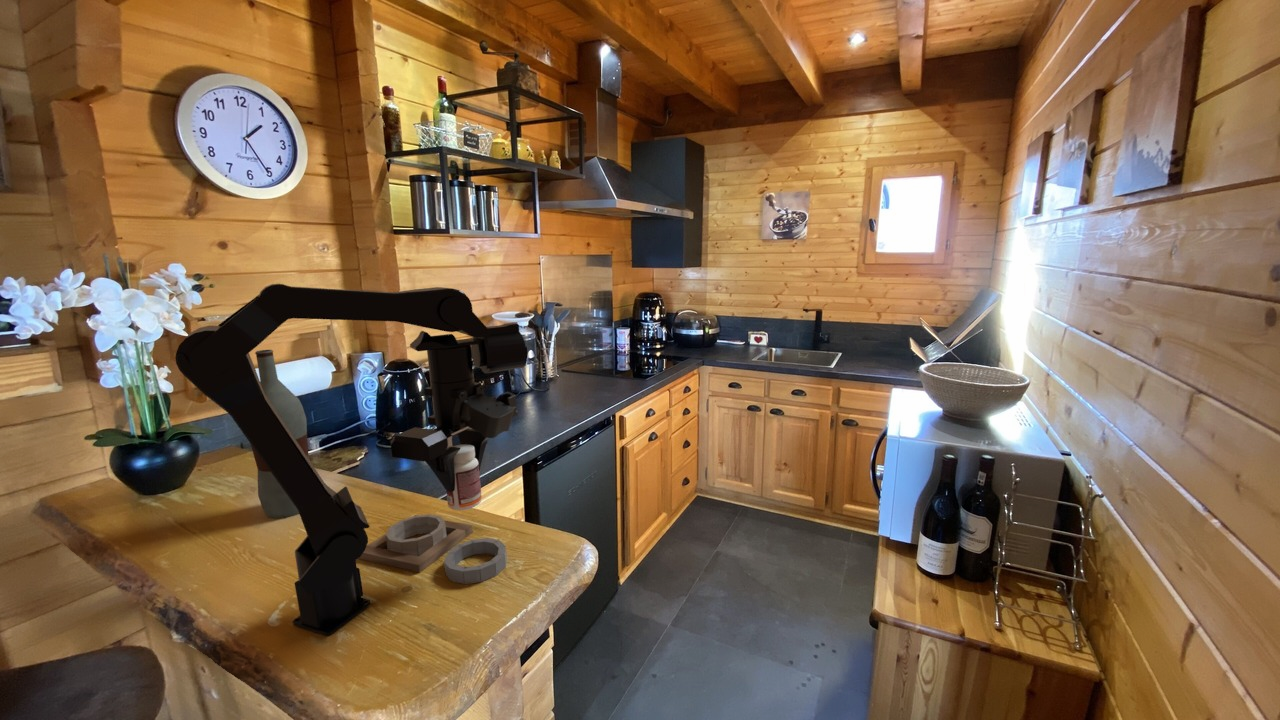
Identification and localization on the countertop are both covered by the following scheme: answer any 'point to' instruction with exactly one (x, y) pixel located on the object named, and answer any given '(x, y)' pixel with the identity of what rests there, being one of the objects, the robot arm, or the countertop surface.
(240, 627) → the countertop surface
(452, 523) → the socket board
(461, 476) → the pill bottle
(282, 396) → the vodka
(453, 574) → the holder
